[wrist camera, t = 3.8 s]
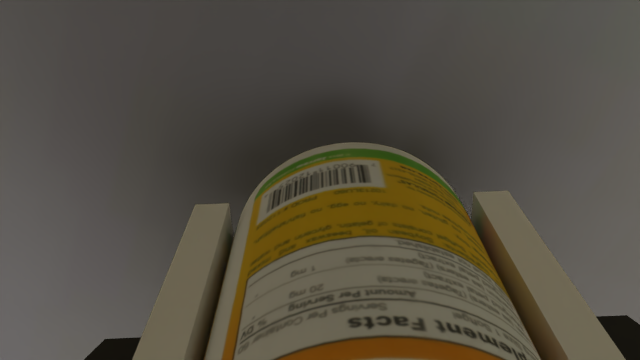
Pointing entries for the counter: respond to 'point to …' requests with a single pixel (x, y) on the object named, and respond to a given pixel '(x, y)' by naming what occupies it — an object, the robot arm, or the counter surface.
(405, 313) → the supplement bottle
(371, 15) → the counter surface
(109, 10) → the counter surface
